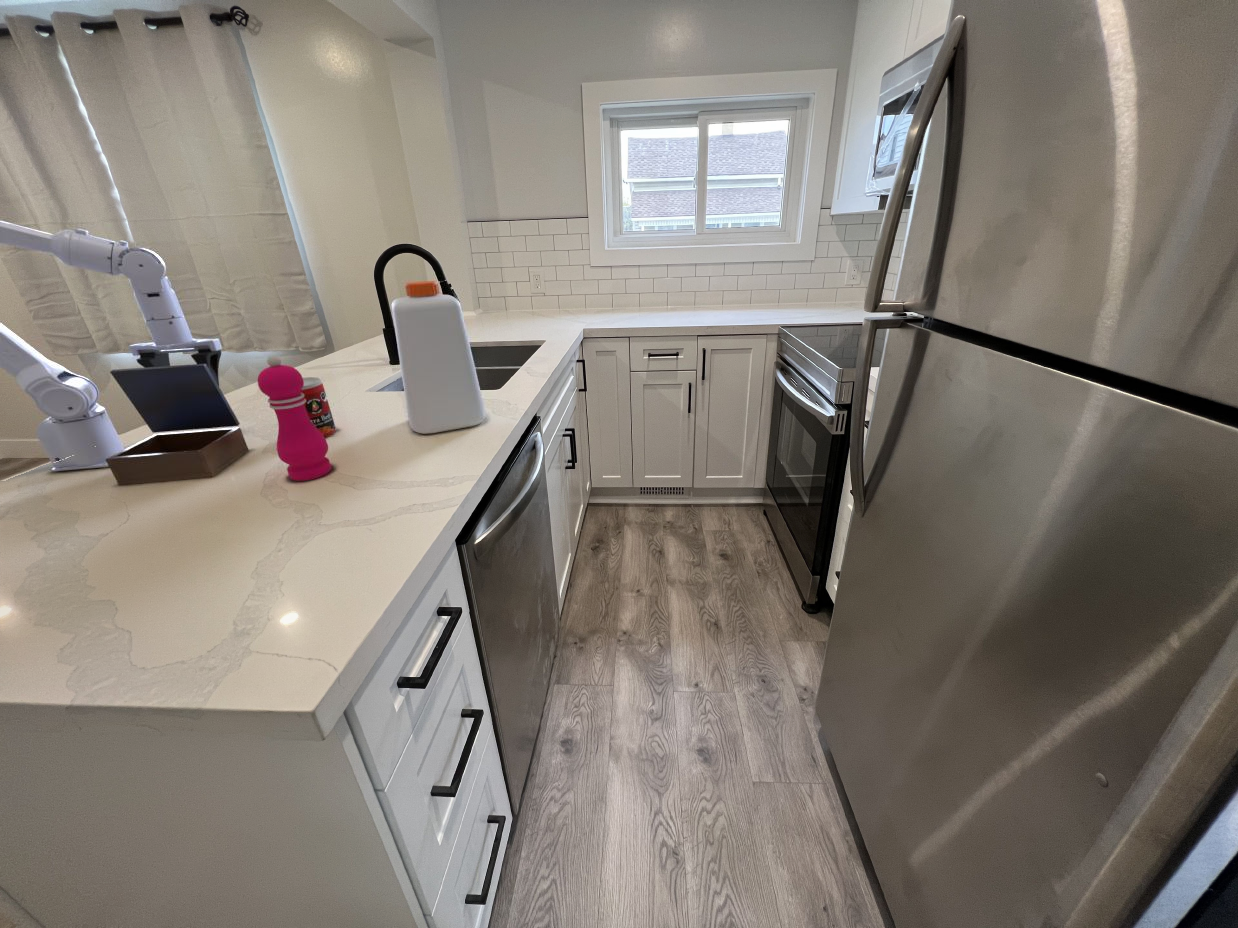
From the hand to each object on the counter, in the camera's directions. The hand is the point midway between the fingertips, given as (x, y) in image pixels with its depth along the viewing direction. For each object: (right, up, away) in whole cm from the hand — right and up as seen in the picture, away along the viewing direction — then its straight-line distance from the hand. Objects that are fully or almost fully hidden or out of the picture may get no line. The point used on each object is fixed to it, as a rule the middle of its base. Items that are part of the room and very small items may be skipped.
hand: (193, 389), depth 98 cm
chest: (+6, -15, -9) cm, 19 cm away
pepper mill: (+31, -16, -13) cm, 38 cm away
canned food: (+22, -9, +4) cm, 24 cm away
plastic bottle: (+47, -6, +9) cm, 48 cm away
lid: (+5, -3, -10) cm, 12 cm away
